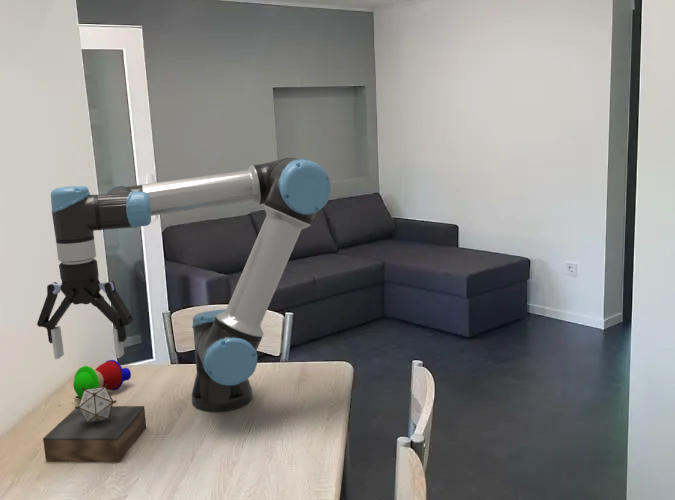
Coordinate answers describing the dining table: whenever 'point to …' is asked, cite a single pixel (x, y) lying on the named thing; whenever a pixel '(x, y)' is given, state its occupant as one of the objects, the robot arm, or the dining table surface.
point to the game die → (96, 404)
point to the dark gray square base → (95, 436)
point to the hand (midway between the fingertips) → (89, 356)
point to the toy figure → (100, 377)
